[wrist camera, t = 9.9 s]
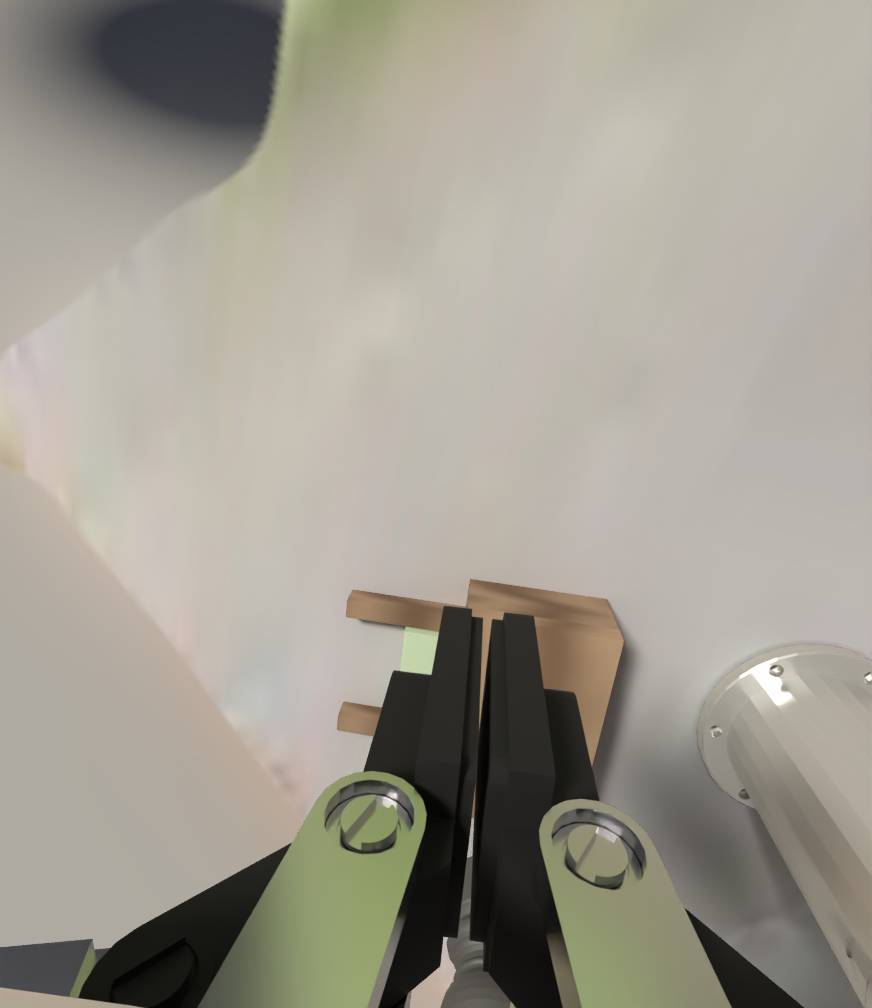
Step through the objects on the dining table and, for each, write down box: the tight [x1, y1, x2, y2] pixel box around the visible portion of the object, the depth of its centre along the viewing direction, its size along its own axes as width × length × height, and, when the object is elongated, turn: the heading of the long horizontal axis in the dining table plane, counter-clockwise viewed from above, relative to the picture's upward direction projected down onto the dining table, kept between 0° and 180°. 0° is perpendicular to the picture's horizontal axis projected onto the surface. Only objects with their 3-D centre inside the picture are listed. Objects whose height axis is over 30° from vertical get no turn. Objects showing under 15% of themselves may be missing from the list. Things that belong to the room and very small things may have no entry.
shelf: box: [337, 579, 624, 818], centre depth 36 cm, size 16×14×5 cm
